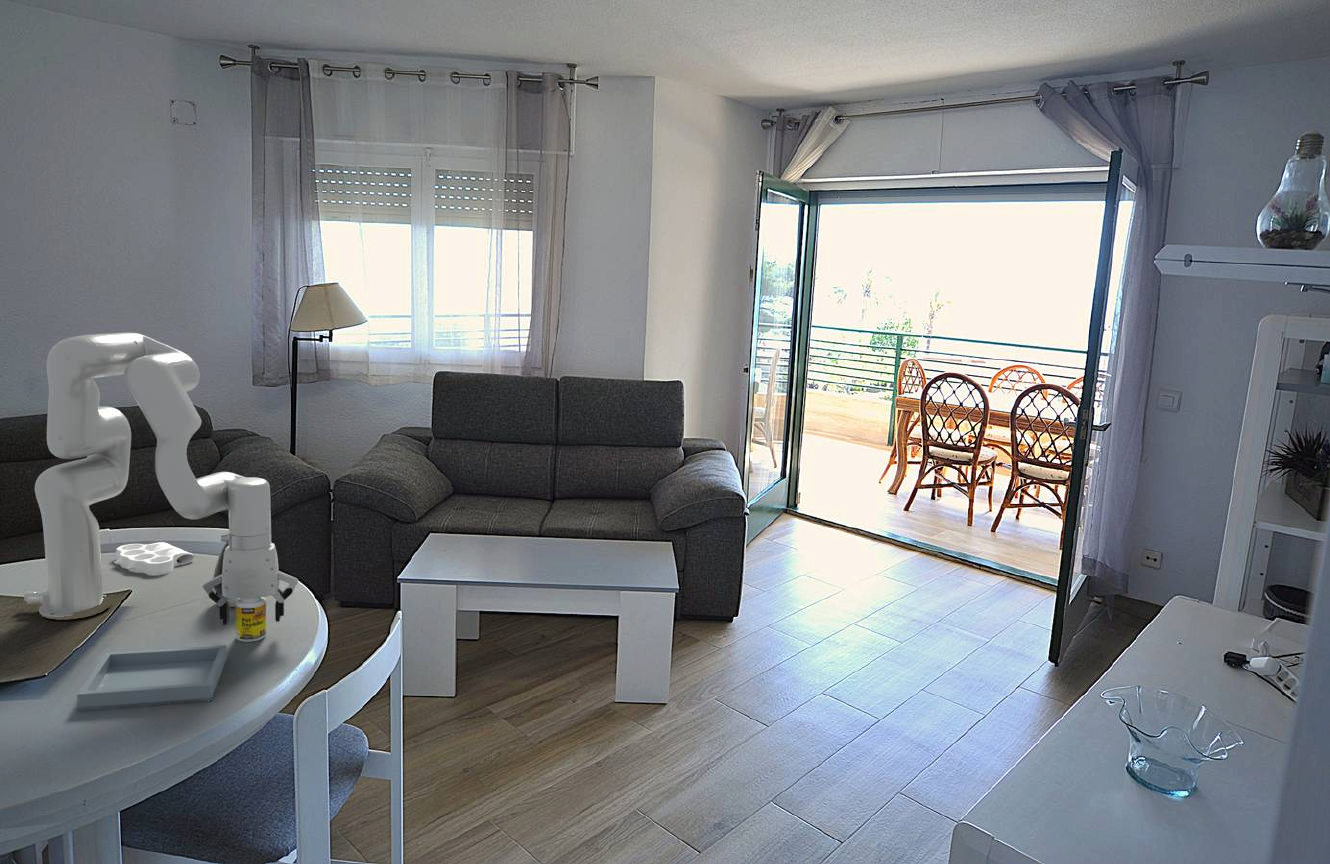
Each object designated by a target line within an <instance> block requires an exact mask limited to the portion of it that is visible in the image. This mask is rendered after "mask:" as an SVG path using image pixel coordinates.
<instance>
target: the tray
mask: <svg viewBox="0 0 1330 864" xmlns="http://www.w3.org/2000/svg"><path fill="white" fill-rule="evenodd" d="M227 648H228V647H227V645H215V646H213V645H212V646H195V647H177V648H162V649H144V650H143V649H141V650H125V651H124V650H123V651H109V652H108V651H107V652H105V653H104V654H103V655H102V657H101V658H100V660H99V662H98V663H97V665H96V666H95V668H94V669H93V671H92V672H91V673H90V674H89V677H87V679H86V680H85V682H84V683H83V685H82V686H81V688H80V689H79V690H78V692H77V694H76V695H77V699H76V701H77V711H78V712H83V711H84V712H85V711H96V710H111V709H112V710H113V709H125V708H137V707H148V706H149V707H151V706H161V705H163V704H164V705H165V704H166V705H172V704H171V703H179V704H182V703H181V702H192V703H197V702H196V701H206V702H209V701H208V700H213V698H214V696H213V695H215V693H214V692H216V690H215V689H217V687H218V685H217V684H219V682H220V680H221V676H222V674H223V671H224V669H225V666H226V663H227V658H228V657H227V656H228V655H227V654H228V653H227V652H228V651H227ZM218 681H219V682H218ZM212 697H213V698H212ZM164 705H163V706H164Z"/></svg>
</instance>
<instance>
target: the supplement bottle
mask: <svg viewBox="0 0 1330 864" xmlns="http://www.w3.org/2000/svg"><path fill="white" fill-rule="evenodd" d="M266 635H267V600H266V597H255V598H239V599H237V601H236V607H235V638H236V639H237V641H240V642H243V643H253V641H254V642H258V641H260V640H262V639H263V638H265V637H266Z"/></svg>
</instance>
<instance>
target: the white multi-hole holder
mask: <svg viewBox="0 0 1330 864" xmlns="http://www.w3.org/2000/svg"><path fill="white" fill-rule="evenodd" d="M115 553H116V560H115V561H113V562H112V563H113V564H116V565H120V567H121V568H122V569H127V570H128V571H129V572H131V573H137V574H138V573H141V574H146V575H147V576H162V575H167V574H169V573H171V572H173V571H174V568H175V567H178V566H181V565H187V564H189V563H191V562H192V561H194V560H195V555H194V553H191V552H189V551H185V550H183V549H182V548H179V547H177V546H174V545H171V544H170V543H167V542H164V541H163V542H162V541H161V542H154V543H150V544H149V543H148V544H142V543H130V544H124V545H120V546H119V547H117V548H116V550H115ZM177 560H179V561H177Z"/></svg>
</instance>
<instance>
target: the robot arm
mask: <svg viewBox="0 0 1330 864" xmlns="http://www.w3.org/2000/svg"><path fill="white" fill-rule="evenodd" d="M46 359H47V360H46V374H47V381H48V399H47V400H48V402H47V403H48V404H47V421H46V422H47V424H46V444H47V447H48V450H49V452H50V454H52V455H53V456H55V457H57V458H59V459H64V460H72V459H76V460H73V461H68V462H64V463H60V464H57V465H54V466H51V467H49V468H47V469H46V470H44V471H43V472H42V473H40V474H39V476H38V477H37V479H36V481H35V484H34V493H35V498H36V501H37V503H38V507H39V510H40V514H41V519H42V520H41V521H42V528H43V530H42V531H43V542H44V556H45V558H44V559H45V573H46V574H45V575H46V589H42V591H35V590H34V591H33V590H32V591H25V592H24V595H23V600H24V601H25V602H26V604H27V605H35V604H40V605H41V606H40V607H39V608H38V611H39V613H40V614H41V615H43V616H47V617H64V616H71V615H73V613H74V612H79V611H83V610H87V609H90V608H93V607H95V606H97V605H100V604H101V603H102V601H103V599H104V598H103V596H105V597H106V596H107V595H106V594H103V579H102V578H103V577H102V575H103V574H102V557H101V555H102V554H101V553H102V551H101V535H100V533H101V532H100V526H99V522H98V520H97V518H96V517H95V515H94V514H93V512H92V511H91V509H90V506H91V505H93V504H96V503H98V502H102V501H105V500H109V499H111V498H114V497H116V496H119V495H120V494H122V492H123V491H124V489H125V488H126V486H127V483H128V480H129V473H130V471H129V470H130V462H131V461H130V458H131V448H132V447H131V446H132V431H131V427H130V426H131V425H130V423H129V420H128V419H127V417H126V416H125V415H124V414H123V412H121V411H120V410H119V409H117V408H115V407H112V406H105V405H104V406H100V402H101V401H100V400H101V394H100V390H99V387H98V384H97V382H96V381H95V378H106V377H114V376H122V375H123V376H124V379H125V382H126V384H127V386H128V388H129V391H130V392H131V393H132V395H133V398H134V400H135V401H136V402H137V403H136V404H138V406H139V409H140V410H141V411H142V414H143V415H144V417H145V419H146V420H147V423H148V425H149V426H150V428H151V430H152V432H153V433H154V435H155V438H156V447H155V454H154V466H155V474H156V479H157V481H158V484H159V486H160V488H161V490H162V491H163V493H164V496H165V497H166V498H167V500H168V502H169V504H170V505H171V506H172V508H173V509H174V510H175V512H177V513H178V514H179V515H180V516H182V517H183V518H184V519H188V520H200V519H203V518H207V517H209V516H211V515H214V514H216V513H218V512H223V511H227V510H228V533H227V534H223V535H221V536H220V542H221V543H223V542H224V543H226V542H227V543H228V544H229V546H227V547H226V548H225V552H224V558H223V569H222V574H221V575H219V576H217V577H215V578H212V579H209V580H207V581H206V582H205V581H204V583H203V585H202V588H203V590H204V591H205V593H206V594H207V595H208V598H209V599H211V600H212V601H213V602H214V603H216V605H217V606H218V613H219V614H218V616H219V620H222V626H226V625H228V623H229V621H230V607H229V602H228V601H227V600H228V599H229V598H255V597H264V598H268V597H272V598H273V599H275V603H274V608H275V609H274V610H275V611H274V614H275V616H274V617H275V618H274V619H275V622H276V623H279V622H280V620H281V617H284V615H285V601H286V600H287V598H289V597H290V596H291V595H292V594H293V592H294V590H295V588H296V587H297V585H298V583H299V579H298V578H297V577H295V576H292V575H290V574H287V573H285V572H283V571H281V570H279V560H278V553H277V549H276V545H275V543H273V542H272V522H271V521H272V517H271V515H272V514H271V512H272V511H271V486H270V483H269V481H268V480H267V479H265V478H260V477H254V476H253V477H252V476H251V477H248V476H247V477H246V476H243V475H239V474H237V473H234V472H230V471H219V472H215V473H211V474H209V475H204V476H201V477H198V478H196V476H195V475H194V473H193V471H192V469H191V466H190V464H189V461H188V456H187V453H188V452H187V451H188V445H189V442H190V440H191V438H192V437H193V435H194V434H195V433H196V432H197V431H198V430H199V429H200V427H201V425H202V418H201V416H200V414H199V413H198V410H197V409H196V407H195V406H194V404H193V402H192V400H191V399H190V397H189V395H188V393H187V392H190V391H192V390H194V389H195V388H196V387H197V386H198V384H199V381H200V375H201V374H200V370H199V367H198V364H197V363H196V362H195V360H194V359H193V358H192V357H190V356H189V355H188V354H187V353H184V352H183V351H181V350H179V349H176V348H174V347H173V346H170V345H168V344H165V343H162V342H160V341H158V340H156V339H153V338H151V337H148V336H147V335H145V334H144V335H143V334H141V333H137V332H114V333H111V332H110V333H96V334H82V335H77V336H72V337H67V338H64V339H62V340H60V341H58V342H57V343H55V345H53V346H52V348H50V351H49V353H48V355H47V358H46ZM84 457H85V458H84ZM79 458H82V459H79ZM280 581H282V582H284V583H287V584H288V585H287V587H286V588H285V589H284V590H282V589H281V588H280ZM220 583H222V595H221V594H219V593H218V592H217V591H216V590H214V588H213V587H214V586H216V585H218V584H220ZM39 613H38V614H39ZM40 614H39V615H40Z"/></svg>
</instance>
